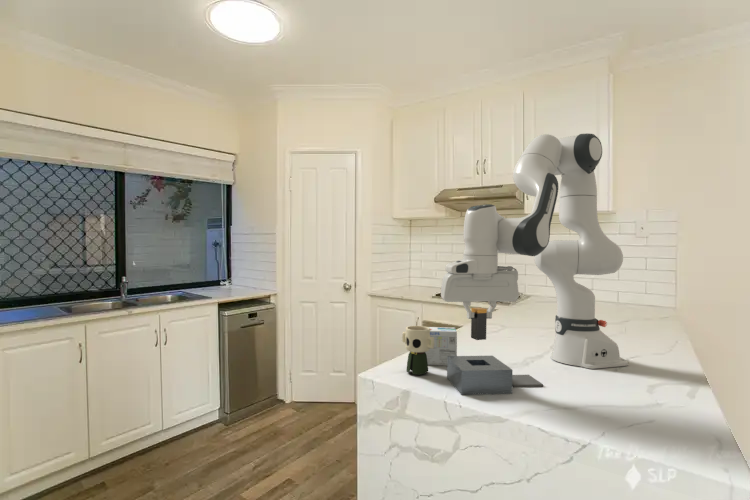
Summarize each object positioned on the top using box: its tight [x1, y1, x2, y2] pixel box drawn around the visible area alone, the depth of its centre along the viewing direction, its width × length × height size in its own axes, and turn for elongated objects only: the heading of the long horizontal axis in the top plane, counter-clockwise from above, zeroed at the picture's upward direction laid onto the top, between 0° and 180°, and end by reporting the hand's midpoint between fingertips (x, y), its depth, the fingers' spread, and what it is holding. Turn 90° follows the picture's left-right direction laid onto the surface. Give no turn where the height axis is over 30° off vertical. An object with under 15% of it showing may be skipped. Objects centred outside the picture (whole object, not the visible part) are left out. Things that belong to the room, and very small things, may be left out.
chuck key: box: [470, 307, 488, 341], centre depth 108 cm, size 3×3×8 cm
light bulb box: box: [425, 326, 458, 366], centre depth 129 cm, size 11×7×11 cm, turn 84°
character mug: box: [401, 325, 434, 375], centre depth 118 cm, size 11×7×13 cm, turn 49°
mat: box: [512, 374, 544, 388], centre depth 112 cm, size 8×8×1 cm
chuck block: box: [446, 355, 513, 396], centre depth 111 cm, size 13×18×6 cm
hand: (479, 318), depth 108 cm, fingers closed on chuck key, 3 cm apart
